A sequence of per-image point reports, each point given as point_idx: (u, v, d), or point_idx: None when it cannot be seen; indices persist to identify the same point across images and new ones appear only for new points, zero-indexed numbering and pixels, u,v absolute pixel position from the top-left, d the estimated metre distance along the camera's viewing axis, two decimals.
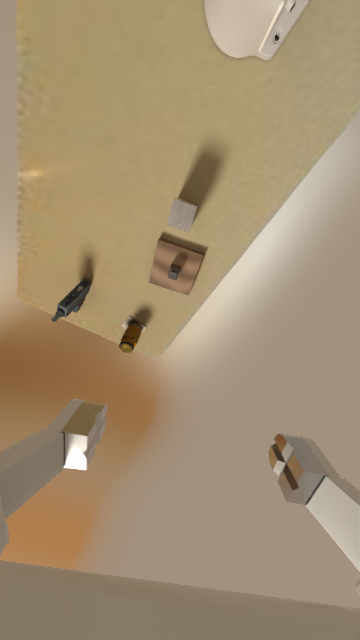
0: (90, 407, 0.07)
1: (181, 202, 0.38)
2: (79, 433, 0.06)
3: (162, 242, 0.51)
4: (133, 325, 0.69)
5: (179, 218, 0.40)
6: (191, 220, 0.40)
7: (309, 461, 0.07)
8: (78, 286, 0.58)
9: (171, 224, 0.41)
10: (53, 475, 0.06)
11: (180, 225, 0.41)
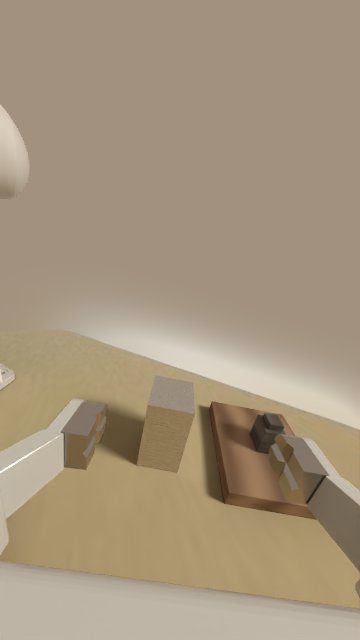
0: (90, 407, 0.07)
1: (152, 393, 0.21)
2: (79, 433, 0.06)
3: (229, 479, 0.21)
4: None
5: (176, 395, 0.22)
6: (174, 381, 0.24)
7: (309, 460, 0.07)
8: None
9: (191, 407, 0.20)
10: (53, 475, 0.06)
11: (187, 393, 0.22)
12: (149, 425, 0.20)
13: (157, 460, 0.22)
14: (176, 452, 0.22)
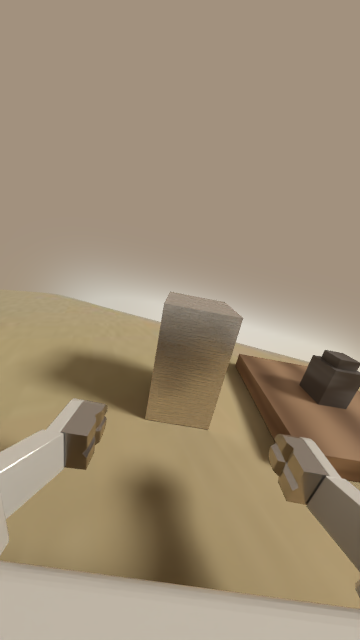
0: (90, 407, 0.07)
1: (169, 298, 0.13)
2: (79, 433, 0.06)
3: (294, 434, 0.13)
4: None
5: (206, 304, 0.14)
6: (199, 298, 0.16)
7: (309, 460, 0.07)
8: None
9: (235, 314, 0.12)
10: (53, 475, 0.06)
11: (221, 306, 0.15)
12: (166, 344, 0.12)
13: (177, 410, 0.14)
14: (209, 394, 0.14)
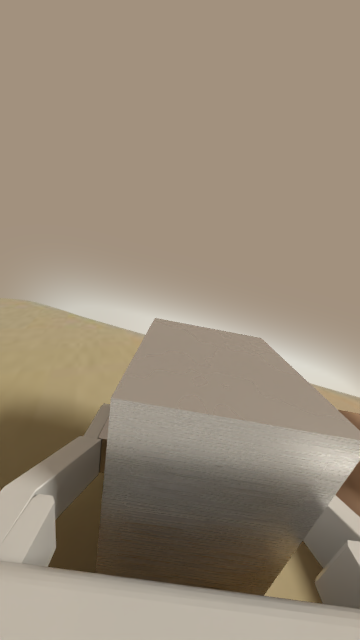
0: None
1: (144, 354, 0.05)
2: None
3: None
4: None
5: (234, 362, 0.06)
6: (212, 331, 0.08)
7: None
8: None
9: (327, 410, 0.04)
10: (90, 481, 0.06)
11: (267, 359, 0.06)
12: (128, 498, 0.04)
13: None
14: (242, 589, 0.05)
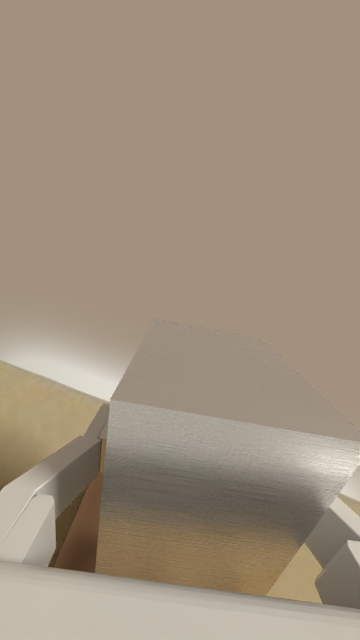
0: None
1: (143, 354, 0.05)
2: None
3: None
4: None
5: (235, 363, 0.06)
6: (212, 332, 0.08)
7: None
8: None
9: (328, 411, 0.04)
10: (90, 481, 0.06)
11: (267, 360, 0.06)
12: (128, 500, 0.04)
13: None
14: (242, 591, 0.05)
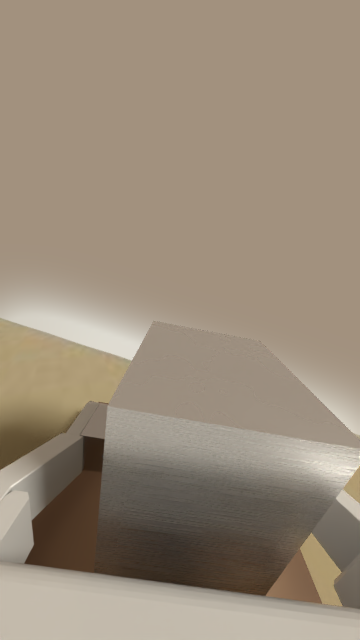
0: None
1: (141, 359, 0.05)
2: (98, 436, 0.06)
3: None
4: None
5: (233, 367, 0.06)
6: (210, 334, 0.08)
7: None
8: None
9: (326, 417, 0.04)
10: (72, 478, 0.06)
11: (265, 364, 0.06)
12: (126, 504, 0.04)
13: None
14: None
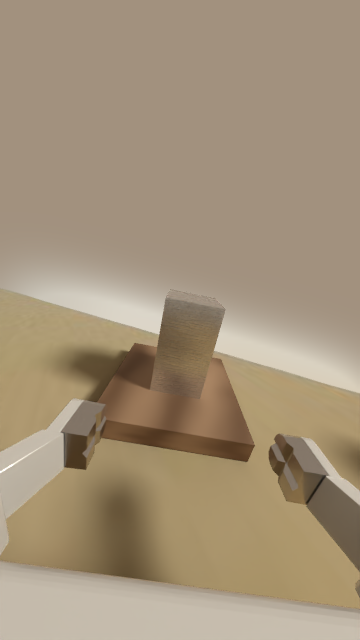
0: (90, 407, 0.07)
1: (170, 294, 0.17)
2: (79, 433, 0.06)
3: None
4: None
5: (198, 299, 0.18)
6: (194, 294, 0.20)
7: (309, 460, 0.07)
8: None
9: (220, 306, 0.16)
10: (53, 475, 0.06)
11: (211, 301, 0.18)
12: (167, 329, 0.16)
13: (175, 383, 0.18)
14: (200, 370, 0.17)
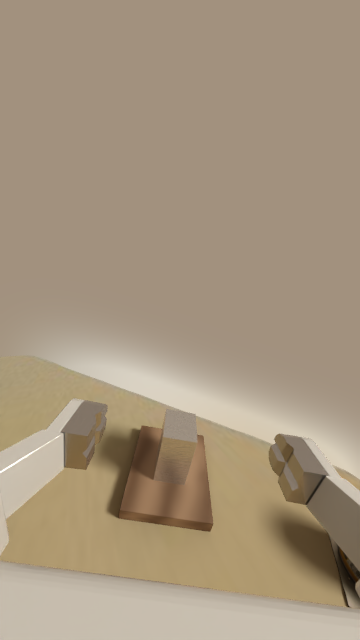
0: (90, 407, 0.07)
1: (165, 426, 0.28)
2: (79, 433, 0.06)
3: (124, 498, 0.27)
4: None
5: (183, 426, 0.29)
6: (181, 413, 0.31)
7: (309, 460, 0.07)
8: None
9: (195, 437, 0.27)
10: (53, 475, 0.06)
11: (191, 424, 0.30)
12: (163, 451, 0.27)
13: (169, 476, 0.29)
14: (184, 470, 0.29)
